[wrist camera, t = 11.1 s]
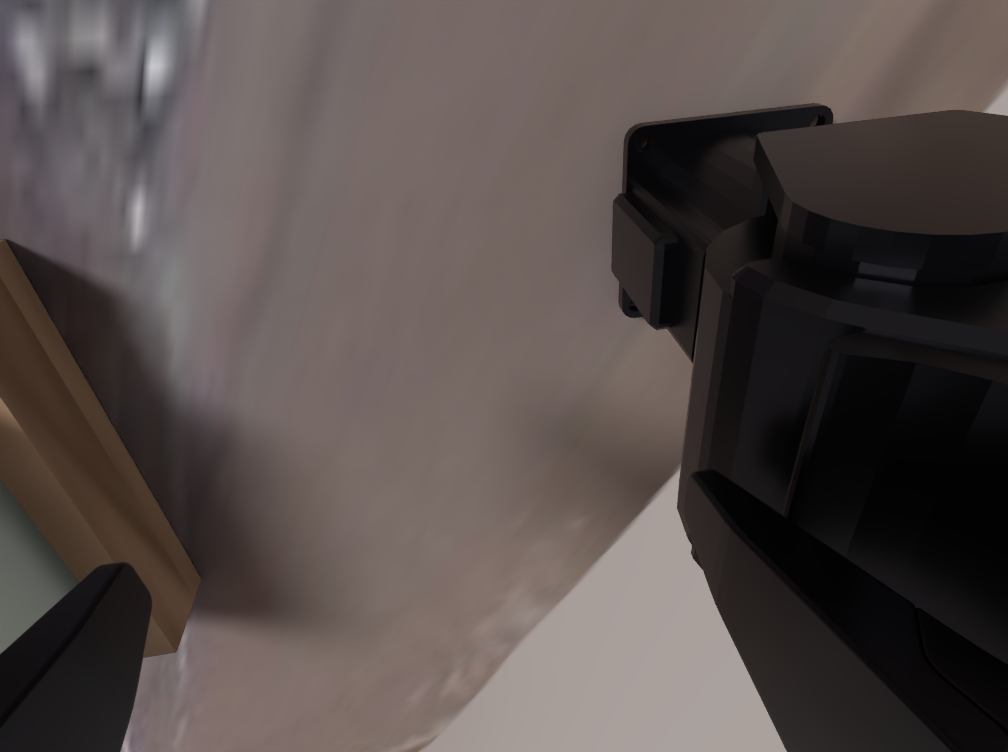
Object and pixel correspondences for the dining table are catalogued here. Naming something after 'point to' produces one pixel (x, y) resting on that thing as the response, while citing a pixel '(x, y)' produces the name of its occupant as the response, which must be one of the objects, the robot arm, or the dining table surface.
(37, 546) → the pale green rectangular block
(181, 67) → the dining table surface
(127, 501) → the wooden tray
